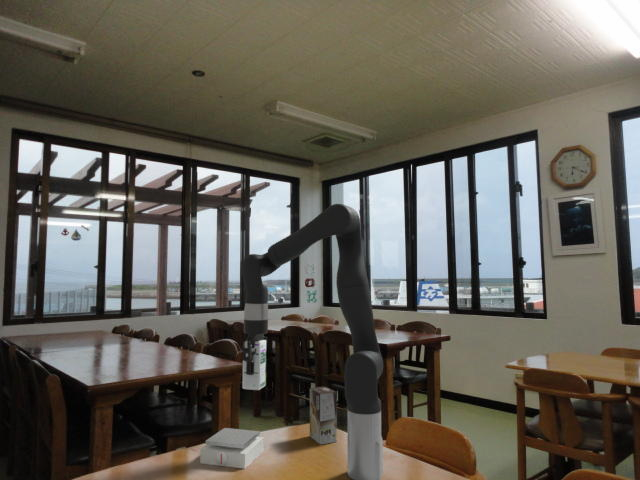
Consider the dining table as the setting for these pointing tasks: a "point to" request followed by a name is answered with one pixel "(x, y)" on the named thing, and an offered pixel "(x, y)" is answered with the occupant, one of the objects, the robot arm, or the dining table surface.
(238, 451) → the white square slab
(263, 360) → the syrup box
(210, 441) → the pan
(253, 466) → the dining table surface
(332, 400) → the coffee box
